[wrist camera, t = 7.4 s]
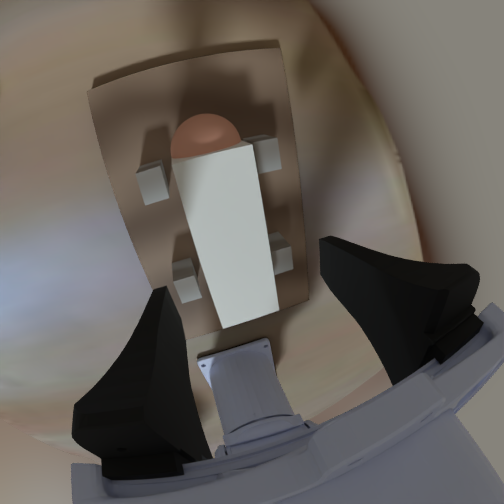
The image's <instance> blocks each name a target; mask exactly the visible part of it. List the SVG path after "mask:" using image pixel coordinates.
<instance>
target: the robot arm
mask: <svg viewBox="0 0 504 504" xmlns="http://www.w3.org/2000/svg"><path fill="white" fill-rule="evenodd" d="M319 246H320V274H321V276H322V278H323V279H324V281H325V283H326V284H327V286H328V287H329V289H330V290H331V291H332V293H333V294H334V295H335V296H336V297H337V299H338V300H339V301H340V302H341V303H342V305H343V306H344V307H345V308H346V309H347V310H348V312H349V313H350V314H351V315H352V316H353V318H354V319H355V320H356V321H357V323H358V324H359V325H360V326H361V328H362V330H363V331H364V333H365V334H366V336H367V337H368V339H369V341H370V342H371V344H372V346H373V347H374V349H375V351H376V353H377V354H378V356H379V358H380V360H381V362H382V364H383V366H384V368H385V370H386V372H387V374H388V376H389V378H390V380H391V383H392V385H393V386H392V387H391V388H389V389H387V390H386V391H384V392H382V393H381V394H379V395H377V396H375V397H374V398H372V399H370V400H368V401H366V402H364V403H363V404H360V405H359V406H357V407H355V408H353V409H351V410H349V411H347V412H345V413H343V414H341V415H338V416H336V417H334V418H332V419H330V420H328V421H325V422H323V423H321V424H319V425H318V424H316V423H313V422H312V421H310V420H306V421H304V422H303V420H302V418H301V416H300V414H297V415H294V412H293V410H292V408H291V406H290V404H289V402H288V400H287V397H286V395H285V393H284V391H283V389H282V387H281V384H280V382H279V380H278V378H277V376H276V372H275V367H274V362H273V357H272V352H271V346H270V342H269V339H268V338H263V339H260V340H257V341H254V342H251V343H248V344H245V345H242V346H239V347H236V348H232V349H229V350H226V351H223V352H219V353H216V354H212V355H209V356H205V357H202V358H199V359H198V360H197V364H198V366H199V368H200V369H201V371H202V373H203V375H204V377H205V378H206V380H207V382H208V383H209V385H210V387H211V389H212V390H213V394H214V398H215V402H216V406H217V410H218V413H219V417H220V421H221V424H222V428H223V432H224V435H223V439H224V442H225V445H219V446H218V449H217V450H216V451H215V458H213V457H212V454H211V452H210V449H209V446H208V444H207V441H206V438H205V435H204V432H203V429H202V425H201V422H200V419H199V415H198V412H197V408H196V405H195V401H194V397H193V393H192V389H191V383H190V377H189V368H188V358H187V348H186V338H185V333H184V328H183V324H182V319H181V317H180V315H179V312H178V310H177V308H176V306H175V304H174V301H173V299H172V297H171V294H170V292H169V290H168V288H167V285H166V286H163V287H160V288H156V289H154V290H153V292H152V294H151V296H150V298H149V301H148V303H147V305H146V307H145V310H144V312H143V314H142V316H141V318H140V320H139V323H138V325H137V327H136V328H135V330H134V332H133V334H132V336H131V338H130V340H129V341H128V343H127V345H126V346H125V348H124V349H123V351H122V352H121V354H120V355H119V357H118V358H117V359H116V361H115V362H114V363H113V365H112V366H111V367H110V369H109V370H108V371H107V372H106V374H105V375H104V376H103V377H102V378H101V379H100V380H99V381H98V383H97V384H96V385H95V386H94V387H93V388H92V389H91V390H90V391H89V392H88V393H87V394H85V395H84V396H83V397H82V398H81V399H80V400H79V401H78V402H77V403H75V404H74V411H73V422H72V438H73V439H74V440H75V442H76V443H77V444H79V445H80V446H81V447H83V448H84V449H86V450H88V451H89V452H91V453H93V454H94V455H96V456H98V457H100V458H101V462H102V466H101V465H97V464H83V463H72V464H71V483H72V500H73V504H504V484H503V482H502V480H501V479H500V477H499V476H498V474H497V473H496V471H495V470H494V468H493V467H492V465H491V464H490V462H489V461H488V459H487V458H486V456H485V455H484V453H483V452H482V451H481V449H480V448H479V446H478V445H477V444H476V442H475V441H474V439H473V438H472V437H471V435H470V434H469V432H468V431H467V430H466V428H465V427H464V426H463V425H462V423H461V422H460V420H459V419H458V418H457V416H456V415H455V413H457V411H459V410H460V409H461V408H462V407H463V406H464V405H465V404H466V403H467V402H468V401H469V400H470V399H471V398H472V397H473V396H474V395H475V394H476V393H477V392H478V391H479V390H480V389H481V388H482V387H483V385H484V384H485V383H486V382H487V381H488V380H489V379H490V377H492V376H493V374H494V373H495V372H496V371H497V370H498V369H499V367H500V366H501V365H502V364H503V362H504V312H503V311H502V310H501V309H500V308H499V307H497V306H496V305H495V304H494V303H493V302H492V303H490V304H489V305H488V306H487V307H486V308H485V309H484V310H483V311H482V312H481V313H480V314H479V316H478V317H477V316H476V315H475V314H474V312H475V308H474V307H473V306H472V305H471V304H472V301H473V299H474V297H475V294H476V292H477V289H478V286H479V282H480V276H479V273H478V271H476V270H475V269H474V268H472V267H471V266H470V265H468V264H438V263H427V262H420V261H413V260H408V259H403V258H399V257H394V256H391V255H387V254H384V253H380V252H377V251H374V250H371V249H368V248H365V247H363V246H360V245H357V244H354V243H351V242H349V241H346V240H343V239H340V238H337V237H334V236H328V237H325V238H321V239H319ZM225 446H226V447H225Z"/></svg>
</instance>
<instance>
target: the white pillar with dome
mask: <svg viewBox="0 0 504 504" xmlns="http://www.w3.org/2000/svg"><path fill="white" fill-rule="evenodd" d="M170 149H171V158H172V168H173V171H174V175H175V179H176V182H177V186H178V190H179V193H180V197H181V200H182V204H183V207H184V211H185V214H186V218H187V221H188V224H189V228H190V231H191V234H192V237H193V241H194V244H195V247H196V250H197V253H198V257H199V260H200V263H201V266H202V269H203V272H204V275H205V278H206V281H207V284H208V287H209V290H210V293H211V296H212V299H213V302H214V305H215V307H216V310H217V313H218V316H219V319H220V322H221V324H222V327H223V329H224V328H227V327H231V326H234V325H237V324H240V323H243V322H246V321H249V320H252V319H255V318H258V317H261V316H264V315H267V314H270V313H273V312H276V311H279V305H278V298H277V292H276V285H275V278H274V272H273V265H272V259H271V253H270V246H269V240H268V234H267V228H266V221H265V215H264V209H263V203H262V197H261V191H260V185H259V180H258V174H257V168H256V162H255V156H254V151H253V145H252V144H250V143H247V142H245V141H242V140H241V139H240V136H239V133H238V131H237V129H236V128H235V127H234V125H233V124H232V123H231V122H230V121H228V120H227V119H225V118H224V117H221V116H219V115H215V114H208V113H207V114H198V115H195V116H193V117H190V118H189V119H187V120H185V121H184V122H183V123H182V124H181V125H180V126H179V127H178V128H177V130H176V131H175V133H174V135H173V138H172V141H171V148H170Z"/></svg>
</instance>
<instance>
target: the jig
mask: <svg viewBox="0 0 504 504" xmlns="http://www.w3.org/2000/svg"><path fill="white" fill-rule="evenodd" d="M87 95H88V100H89V105H90V109H91V114H92V118H93V122H94V126H95V130H96V134H97V138H98V142H99V145H100V149H101V153H102V156H103V160H104V163H105V166H106V170H107V173H108V176H109V179H110V182H111V185H112V188H113V191H114V194H115V197H116V200H117V203H118V206H119V209H120V212H121V214H122V217H123V220H124V222H125V225H126V228H127V230H128V233H129V235H130V238H131V240H132V243H133V245H134V248H135V250H136V253H137V255H138V258H139V260H140V262H141V265H142V267H143V269H144V271H145V274H146V276H147V278H148V280H149V283H150V285H151V287H152V289H153V290H154V289H156V288H160V287H163V286H166V285H167V288H168V290H169V292H170V294H171V297H172V299H173V301H174V304H175V306H176V308H177V310H178V312H179V315H180V317H181V319H182V324H183V328H184V333H185V338H186V340H187V339H191V338H194V337H198V336H201V335H205V334H208V333H212V332H215V331H218V330H222V329H223V327H222V324H221V322H220V319H219V316H218V313H217V310H216V307H215V305H214V302H213V299H212V296H211V293H210V290H209V287H208V284H207V281H206V278H205V275H204V272H203V269H202V266H201V263H200V260H199V257H198V253H197V250H196V247H195V244H194V241H193V237H192V234H191V231H190V228H189V224H188V221H187V218H186V214H185V211H184V207H183V204H182V200H181V197H180V193H179V190H178V186H177V182H176V179H175V175H174V171H173V168H172V158H171V149H170V148H171V141H172V138H173V135H174V133H175V131H176V130H177V128H178V127H179V126H180V125H181V124H182V123H183V122H184V121H185V120H187V119H189V118H190V117H193V116H195V115H198V114H207V113H208V114H215V115H219V116H221V117H224V118H225V119H227V120H228V121H230V122H231V123H232V124H233V125H234V127H235V128H236V129H237V131H238V133H239V136H240V139H241V140H242V141H245V142H247V143H250V144H252V145H253V151H254V156H255V162H256V168H257V174H258V180H259V185H260V191H261V197H262V203H263V209H264V215H265V221H266V228H267V234H268V240H269V246H270V253H271V259H272V265H273V272H274V278H275V285H276V292H277V298H278V305H279V311H280V310H283V309H285V308H288V307H291V306H294V305H297V304H299V303H302V302H305V301H308V300H309V291H308V272H307V256H306V242H305V229H304V217H303V206H302V196H301V186H300V176H299V168H298V159H297V151H296V143H295V135H294V128H293V121H292V114H291V107H290V101H289V94H288V88H287V82H286V76H285V70H284V65H283V59H282V54H281V49H280V48H268V49H254V50H244V51H235V52H227V53H220V54H214V55H208V56H202V57H197V58H192V59H187V60H182V61H178V62H174V63H170V64H166V65H162V66H158V67H154V68H151V69H147V70H144V71H140V72H137V73H134V74H131V75H128V76H125V77H122V78H119V79H116V80H114V81H111V82H108V83H106V84H103V85H100V86H98V87H95V88H93V89H91V90H88V91H87ZM276 312H277V311H276ZM273 313H274V312H273ZM270 314H271V313H270ZM267 315H268V314H267ZM264 316H265V315H264ZM261 317H262V316H261ZM258 318H259V317H258ZM255 319H256V318H255ZM252 320H253V319H252ZM249 321H250V320H249ZM246 322H247V321H246ZM243 323H244V322H243ZM240 324H241V323H240ZM237 325H238V324H237ZM227 328H228V327H227ZM224 329H225V328H224Z"/></svg>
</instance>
